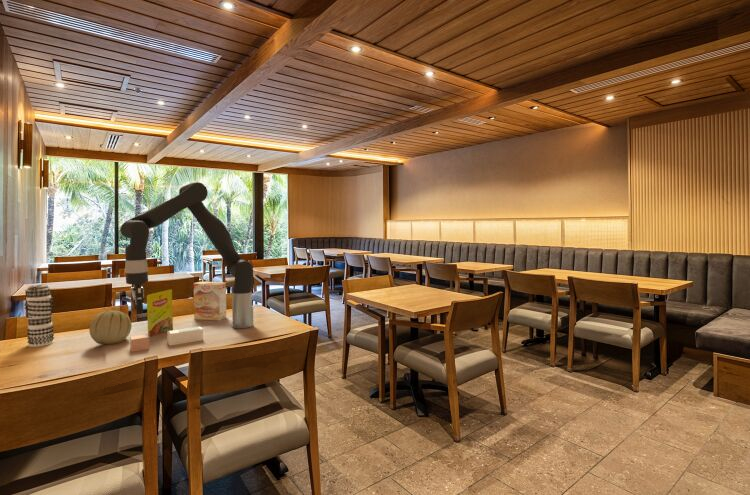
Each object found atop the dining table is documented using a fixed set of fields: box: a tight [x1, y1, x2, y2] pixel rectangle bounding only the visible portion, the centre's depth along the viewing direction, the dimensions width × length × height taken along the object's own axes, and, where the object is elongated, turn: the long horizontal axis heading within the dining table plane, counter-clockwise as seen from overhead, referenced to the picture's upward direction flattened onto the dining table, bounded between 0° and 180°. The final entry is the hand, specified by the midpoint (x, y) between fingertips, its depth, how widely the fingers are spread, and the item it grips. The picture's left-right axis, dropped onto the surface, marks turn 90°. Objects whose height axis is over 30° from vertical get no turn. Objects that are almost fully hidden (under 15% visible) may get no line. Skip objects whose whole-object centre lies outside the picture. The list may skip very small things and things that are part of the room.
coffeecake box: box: [193, 281, 227, 321], centre depth 207 cm, size 15×7×20 cm, turn 80°
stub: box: [129, 333, 150, 353], centre depth 155 cm, size 6×5×5 cm
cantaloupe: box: [88, 307, 132, 346], centre depth 164 cm, size 15×15×15 cm
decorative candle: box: [24, 284, 55, 348], centre depth 164 cm, size 9×9×25 cm
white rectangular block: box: [166, 326, 204, 346], centre depth 165 cm, size 13×5×5 cm, turn 126°
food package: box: [146, 289, 174, 338], centre depth 177 cm, size 15×1×20 cm, turn 168°
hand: (138, 311), depth 154 cm, fingers open, 8 cm apart
